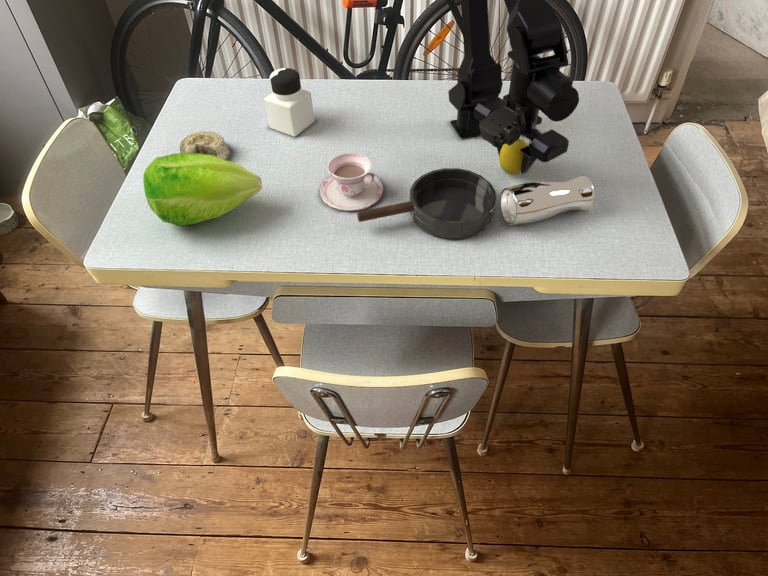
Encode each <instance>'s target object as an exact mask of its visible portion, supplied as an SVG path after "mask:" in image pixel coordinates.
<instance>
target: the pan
mask: <svg viewBox="0 0 768 576" xmlns="http://www.w3.org/2000/svg"><path fill="white" fill-rule="evenodd" d="M409 201H413V203H414V204H413V211H411V212H409V215H410V217H411V220H412V222H413V223H414V224H415V225H416V226H417V227H418V228H419V229H420V230H422V231H423V232H426V233H427V234H429V235H431V236H433V237H437V238H442V239H448V240H457V239H458V240H459V239H461V240H462V239H465V238H470V237H473V236H476V235H478V234H480V233H481V232H483V231H485V230H486V229H487V228H488V226H490V225H491V224H492V222H493V218H494V216H495V211H496V205H497V201H498V200H497V192H496V189H495V188H494V186H493V185H492V183H491V181H489V180H488V179H486V178H485V177H484V176H482V175H481V174H479V173H476V172H474V171H471V170H467V169H463V168H457V167H456V168H455V167H453V168H452V167H446V168H445V167H444V168H439V169H433V170H431V171H428V172H426V173H424V174H422V175H420V176H419V177H418V178H416V180H415V181H414V182H413V184H412V185H411V187H410V189H409Z"/></svg>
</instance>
